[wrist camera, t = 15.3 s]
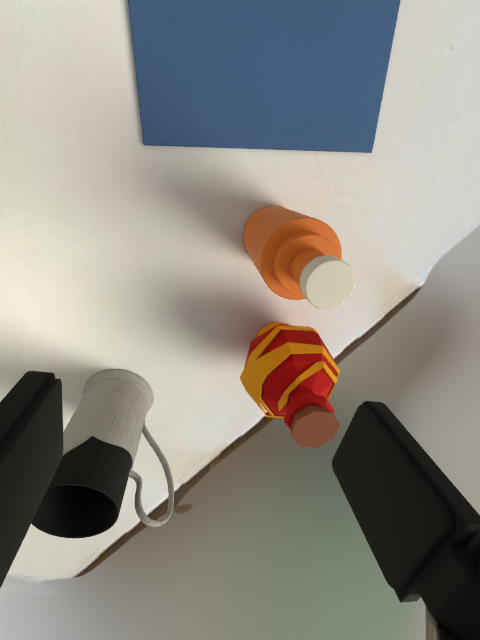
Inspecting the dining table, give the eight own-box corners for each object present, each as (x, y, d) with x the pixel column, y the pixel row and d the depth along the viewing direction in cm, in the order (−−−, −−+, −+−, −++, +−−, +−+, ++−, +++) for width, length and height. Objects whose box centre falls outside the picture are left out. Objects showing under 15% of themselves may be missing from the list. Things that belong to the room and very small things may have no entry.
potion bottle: (266, 287, 34) (307, 357, 21) (330, 328, 37) (400, 411, 24) (218, 353, 37) (226, 451, 24) (281, 385, 41) (319, 486, 27)
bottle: (237, 258, 32) (265, 325, 17) (250, 199, 30) (296, 218, 15) (289, 269, 33) (357, 340, 18) (306, 213, 31) (401, 243, 16)
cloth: (144, 145, 27) (143, 144, 26) (110, -176, 19) (108, -181, 19) (370, 152, 29) (371, 152, 29) (422, -130, 21) (425, -134, 21)
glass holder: (106, 357, 36) (48, 464, 22) (198, 409, 41) (195, 521, 27) (70, 402, 38) (-3, 523, 25) (162, 446, 43) (142, 566, 30)
